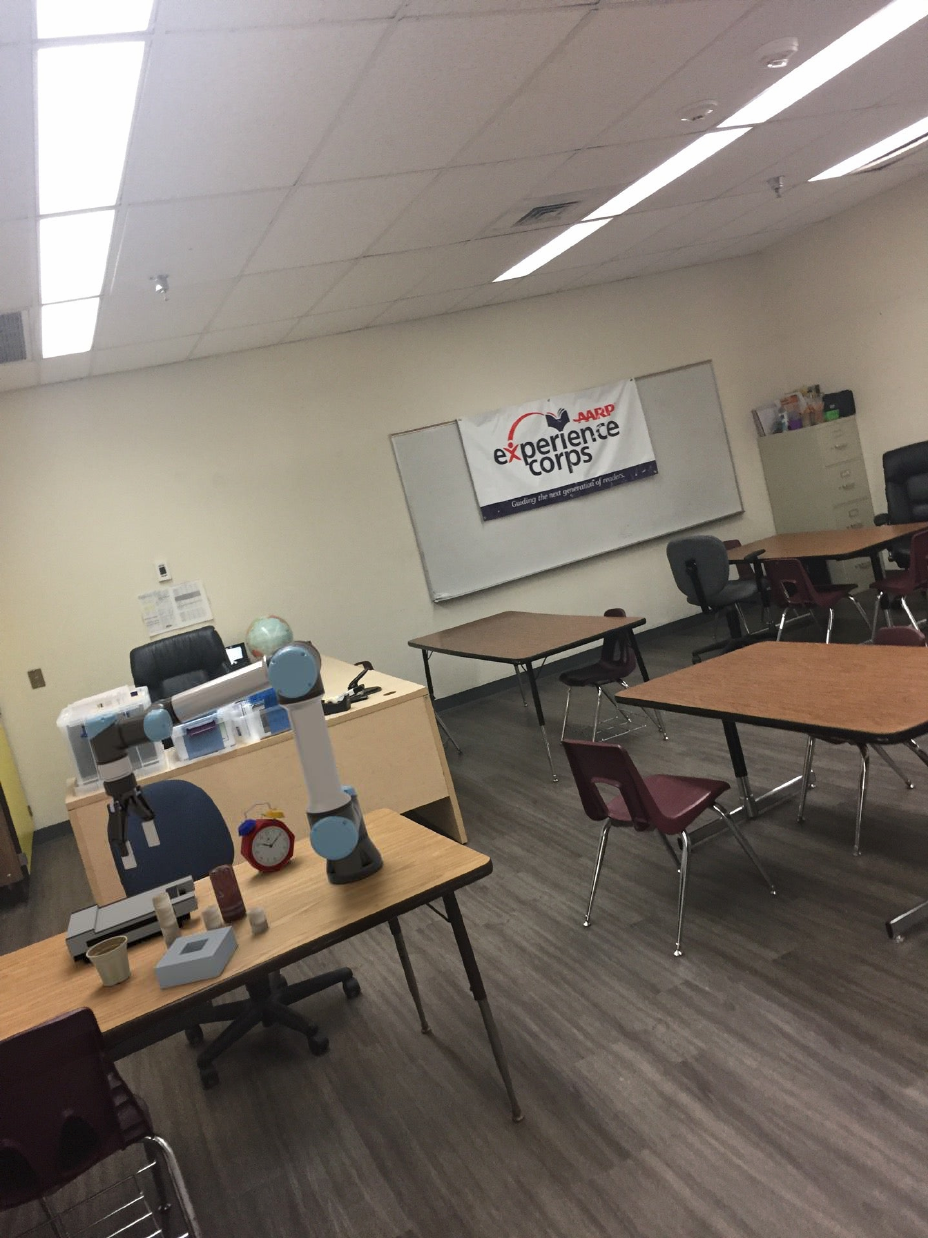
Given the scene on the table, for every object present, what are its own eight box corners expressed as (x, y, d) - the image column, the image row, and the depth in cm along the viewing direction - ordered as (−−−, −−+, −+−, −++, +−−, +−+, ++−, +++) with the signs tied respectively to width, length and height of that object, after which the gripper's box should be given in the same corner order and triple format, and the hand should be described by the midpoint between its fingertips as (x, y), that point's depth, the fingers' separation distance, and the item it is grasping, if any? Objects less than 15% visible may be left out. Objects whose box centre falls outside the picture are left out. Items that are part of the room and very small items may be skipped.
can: (241, 921, 234) (225, 870, 232) (219, 925, 235) (203, 874, 233) (251, 909, 239) (236, 860, 238) (229, 913, 241) (214, 864, 239)
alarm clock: (255, 881, 259) (234, 815, 257) (244, 875, 267) (224, 811, 264) (302, 859, 267) (283, 795, 264) (291, 854, 274) (272, 791, 272)
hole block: (237, 945, 220) (231, 925, 219) (219, 976, 206) (212, 955, 205) (182, 957, 221) (176, 938, 221) (160, 989, 207) (154, 968, 207)
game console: (202, 922, 241) (193, 893, 240) (75, 971, 231) (65, 941, 230) (198, 896, 261) (189, 869, 260) (80, 940, 251) (71, 912, 250)
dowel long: (187, 942, 229) (170, 891, 228) (181, 951, 225) (164, 898, 224) (171, 946, 230) (155, 894, 228) (165, 954, 226) (148, 901, 224)
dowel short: (270, 924, 227) (264, 905, 227) (266, 931, 223) (260, 913, 223) (255, 927, 228) (249, 908, 227) (250, 935, 224) (244, 916, 223)
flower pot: (104, 975, 223) (93, 942, 222) (142, 964, 224) (131, 931, 222) (91, 995, 214) (80, 961, 213) (131, 983, 214) (120, 949, 213)
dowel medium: (228, 933, 228) (219, 903, 227) (223, 941, 224) (214, 911, 223) (213, 937, 229) (204, 907, 228) (208, 944, 225) (198, 914, 224)
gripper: (126, 764, 240) (150, 839, 242) (78, 796, 215) (105, 880, 218) (153, 757, 239) (176, 834, 241) (108, 790, 214) (135, 874, 217)
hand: (143, 856), depth 230 cm, fingers open, 13 cm apart
